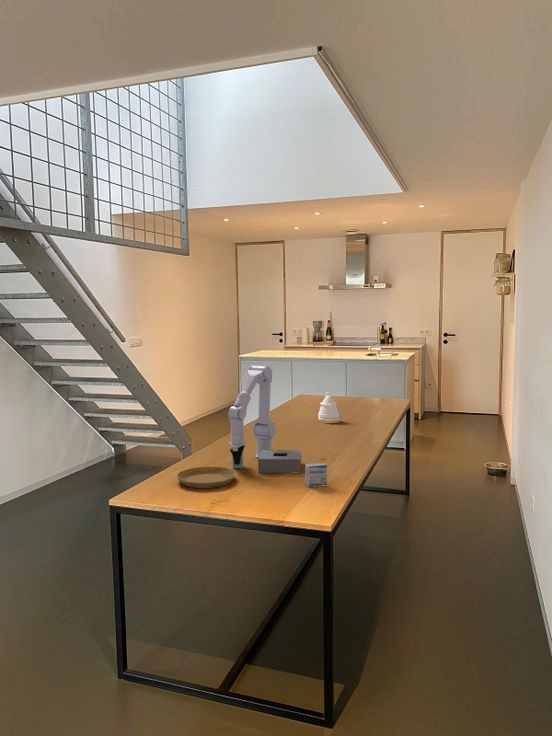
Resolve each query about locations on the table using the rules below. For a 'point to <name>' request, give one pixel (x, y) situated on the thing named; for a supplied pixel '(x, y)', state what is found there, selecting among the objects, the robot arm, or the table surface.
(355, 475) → the table surface
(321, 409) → the honey pot
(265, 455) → the gray slotted box
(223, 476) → the plant saucer
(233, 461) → the teal rectangular block
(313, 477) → the medicine box
